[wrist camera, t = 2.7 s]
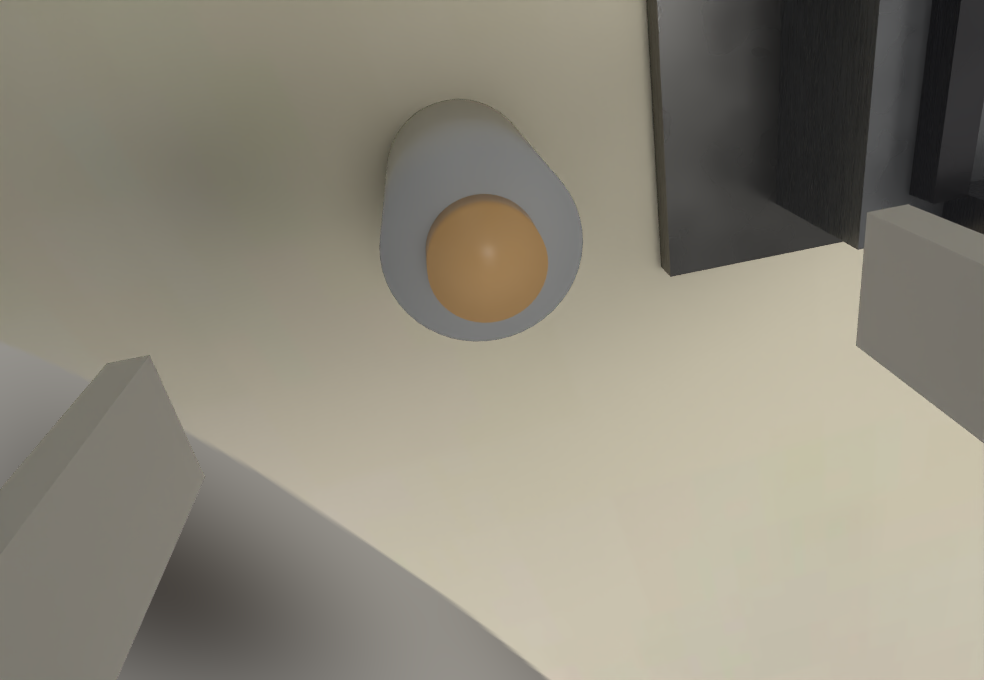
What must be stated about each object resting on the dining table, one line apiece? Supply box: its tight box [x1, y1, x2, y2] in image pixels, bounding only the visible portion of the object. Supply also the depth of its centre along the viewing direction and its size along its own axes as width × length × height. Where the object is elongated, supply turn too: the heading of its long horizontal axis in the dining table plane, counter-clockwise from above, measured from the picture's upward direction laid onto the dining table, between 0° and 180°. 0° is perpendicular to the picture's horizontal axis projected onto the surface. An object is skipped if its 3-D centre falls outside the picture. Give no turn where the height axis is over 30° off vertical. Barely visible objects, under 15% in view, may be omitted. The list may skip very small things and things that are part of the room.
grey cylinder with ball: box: [380, 99, 583, 341], centre depth 20 cm, size 5×5×9 cm
